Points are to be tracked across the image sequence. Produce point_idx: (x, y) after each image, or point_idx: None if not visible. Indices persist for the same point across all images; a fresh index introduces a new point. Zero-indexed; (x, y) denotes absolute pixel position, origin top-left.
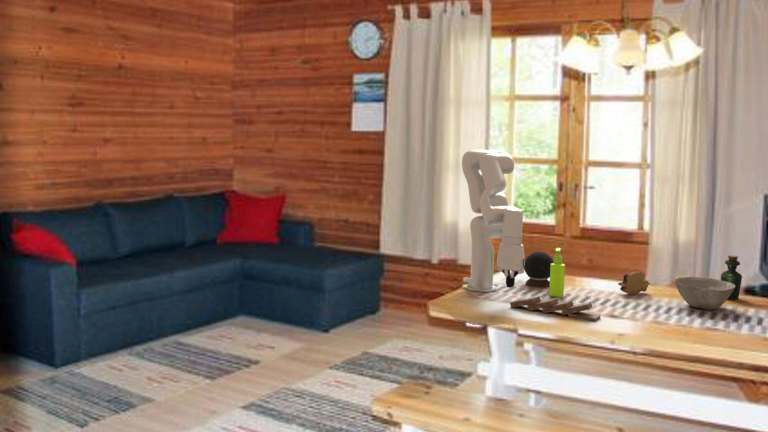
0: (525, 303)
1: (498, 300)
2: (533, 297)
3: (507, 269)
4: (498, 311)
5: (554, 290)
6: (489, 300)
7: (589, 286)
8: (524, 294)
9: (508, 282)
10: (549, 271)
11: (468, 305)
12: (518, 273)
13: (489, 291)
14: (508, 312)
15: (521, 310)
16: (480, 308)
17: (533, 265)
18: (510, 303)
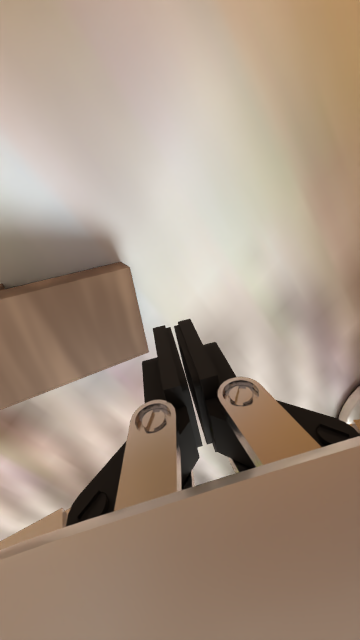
0: (5, 293)
1: (257, 329)
2: (11, 384)
3: (241, 477)
4: (96, 93)
5: None
6: (290, 295)
7: None
8: (230, 465)
9: (181, 348)
10: None
11: (340, 76)
12: (59, 518)
13: (349, 397)
14: (32, 131)
15: (32, 257)
16: (238, 63)
17: None
18: (123, 266)
